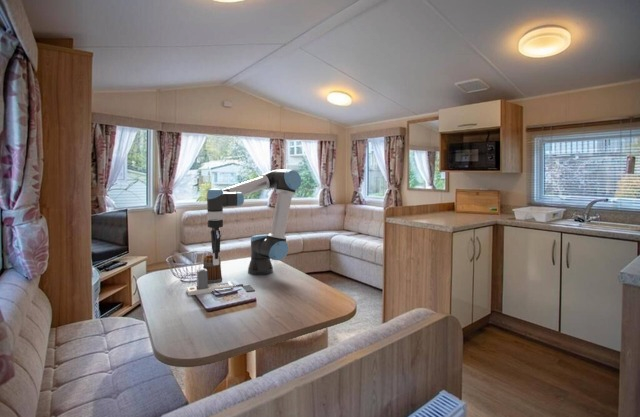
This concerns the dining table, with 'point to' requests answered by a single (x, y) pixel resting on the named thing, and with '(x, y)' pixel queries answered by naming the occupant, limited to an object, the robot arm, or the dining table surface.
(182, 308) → the dining table surface
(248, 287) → the mat
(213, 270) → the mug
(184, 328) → the dining table surface
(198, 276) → the charger
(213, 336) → the dining table surface
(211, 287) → the power strip
